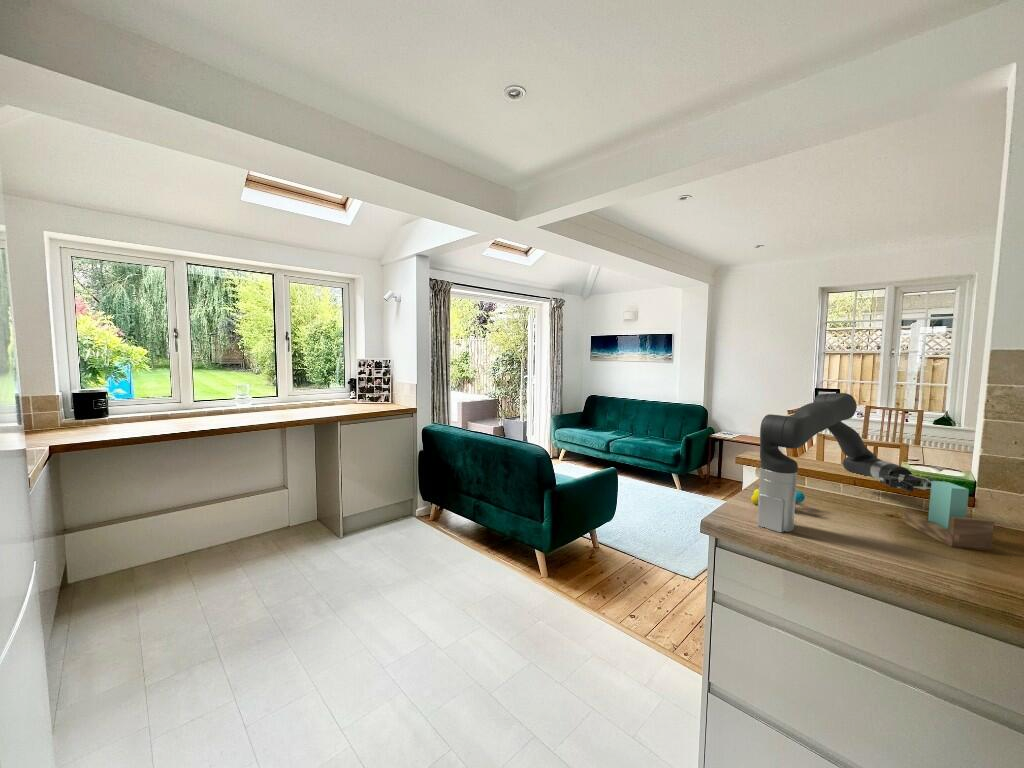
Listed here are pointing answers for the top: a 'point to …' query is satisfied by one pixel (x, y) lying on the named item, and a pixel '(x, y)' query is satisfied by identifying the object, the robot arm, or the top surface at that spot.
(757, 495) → the molecular model
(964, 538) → the brown wooden drawer
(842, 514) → the top surface
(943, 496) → the teal rectangular block
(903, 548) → the top surface
